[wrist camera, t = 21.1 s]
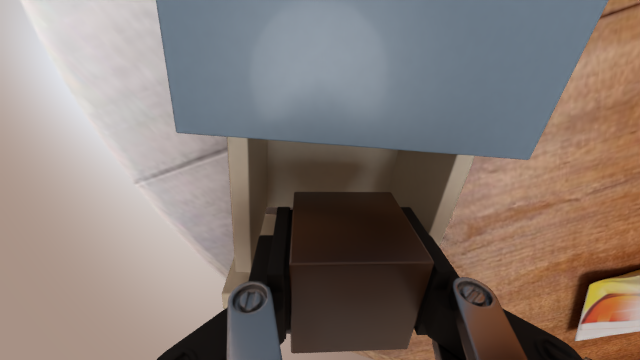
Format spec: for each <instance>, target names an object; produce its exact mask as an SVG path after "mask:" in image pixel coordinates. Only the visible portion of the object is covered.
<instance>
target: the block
mask: <svg viewBox="0 0 640 360" xmlns="http://www.w3.org/2000/svg"><path fill="white" fill-rule="evenodd" d="M433 265H434V261H433V259H432V258H431V256H430V254H429V253H428V251H427V250H426V248H425V246H424V245H423V243H422V242H421V240H420V238H419V237H418V235H417V234H416V232H415V230H414V229H413V227H412V225H411V224H410V222H409V221H408V219H407V217H406V216H405V214H404V213H403V211H402V209H401V208H400V206H399V204H398V203H397V201H396V200H395V198H394V196H393V195H392V193H391V192H294V200H293V214H292V229H291V244H290V259H289V281H290V327H291V352H292V353H314V352H315V353H316V352H342V351H369V350H395V349H407V348H408V345H409V342H410V339H411V336H412V333H413V329H414V326H415V323H416V320H417V317H418V313H419V310H420V307H421V304H422V300H423V297H424V294H425V291H426V288H427V284H428V281H429V278H430V275H431V272H432V268H433Z"/></svg>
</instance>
